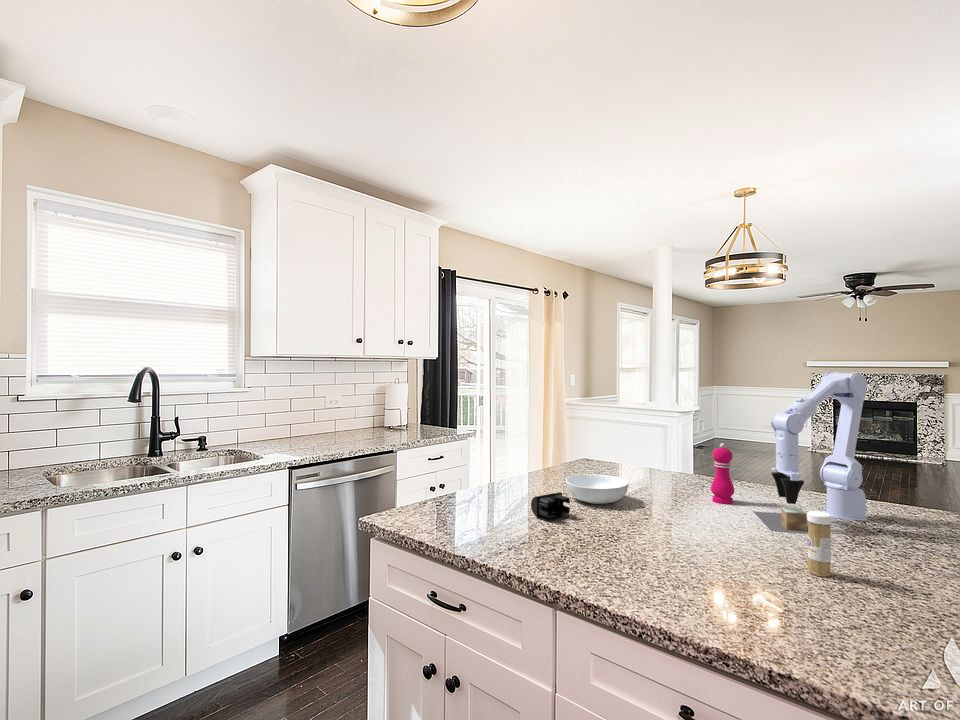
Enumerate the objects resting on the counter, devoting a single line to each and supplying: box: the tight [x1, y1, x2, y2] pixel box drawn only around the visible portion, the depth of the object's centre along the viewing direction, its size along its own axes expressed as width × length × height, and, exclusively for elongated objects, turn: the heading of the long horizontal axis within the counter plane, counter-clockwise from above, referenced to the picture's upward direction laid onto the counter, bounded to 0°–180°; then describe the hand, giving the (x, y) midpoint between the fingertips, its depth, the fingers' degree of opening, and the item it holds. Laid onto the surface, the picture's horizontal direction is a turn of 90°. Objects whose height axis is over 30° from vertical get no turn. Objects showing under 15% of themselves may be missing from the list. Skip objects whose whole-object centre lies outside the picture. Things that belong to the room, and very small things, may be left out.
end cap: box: [530, 492, 571, 523], centre depth 160 cm, size 10×7×7 cm
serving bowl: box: [565, 473, 630, 505], centre depth 179 cm, size 21×21×7 cm
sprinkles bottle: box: [806, 510, 832, 578], centre depth 117 cm, size 5×5×14 cm
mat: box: [752, 511, 808, 535], centre depth 154 cm, size 14×20×1 cm
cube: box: [780, 506, 808, 531], centre depth 149 cm, size 5×5×5 cm
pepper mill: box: [710, 442, 735, 505], centre depth 177 cm, size 7×7×20 cm
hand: (787, 500), depth 155 cm, fingers open, 7 cm apart
